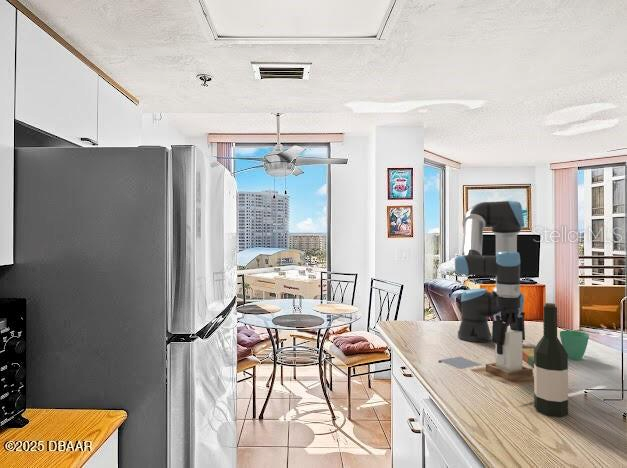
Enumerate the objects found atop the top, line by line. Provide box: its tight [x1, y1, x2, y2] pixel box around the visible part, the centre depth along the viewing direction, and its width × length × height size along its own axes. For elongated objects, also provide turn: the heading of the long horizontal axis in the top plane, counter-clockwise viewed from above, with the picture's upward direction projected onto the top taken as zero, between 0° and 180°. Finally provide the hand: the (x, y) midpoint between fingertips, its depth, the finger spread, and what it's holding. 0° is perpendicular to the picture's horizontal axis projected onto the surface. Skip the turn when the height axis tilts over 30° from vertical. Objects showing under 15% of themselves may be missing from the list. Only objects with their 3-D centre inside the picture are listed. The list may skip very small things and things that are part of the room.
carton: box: [522, 348, 534, 369], centre depth 156 cm, size 8×16×4 cm, turn 173°
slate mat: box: [438, 356, 483, 370], centre depth 156 cm, size 11×11×1 cm
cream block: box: [494, 327, 523, 372], centre depth 143 cm, size 6×6×15 cm
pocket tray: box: [470, 362, 534, 388], centre depth 143 cm, size 18×18×3 cm
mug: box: [559, 329, 590, 361], centre depth 165 cm, size 15×10×10 cm
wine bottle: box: [533, 302, 569, 418], centre depth 115 cm, size 8×8×30 cm
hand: (508, 362), depth 143 cm, fingers closed on cream block, 6 cm apart
